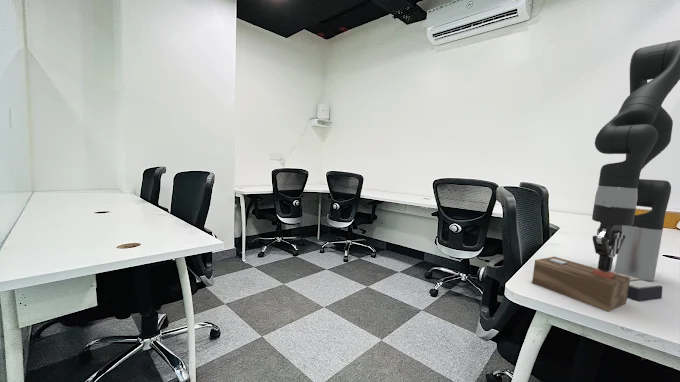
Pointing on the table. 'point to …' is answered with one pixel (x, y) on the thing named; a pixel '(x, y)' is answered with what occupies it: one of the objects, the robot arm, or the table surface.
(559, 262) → the grey plug
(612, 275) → the red plug
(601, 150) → the robot arm
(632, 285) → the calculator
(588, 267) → the block
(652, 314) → the table surface
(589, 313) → the table surface
